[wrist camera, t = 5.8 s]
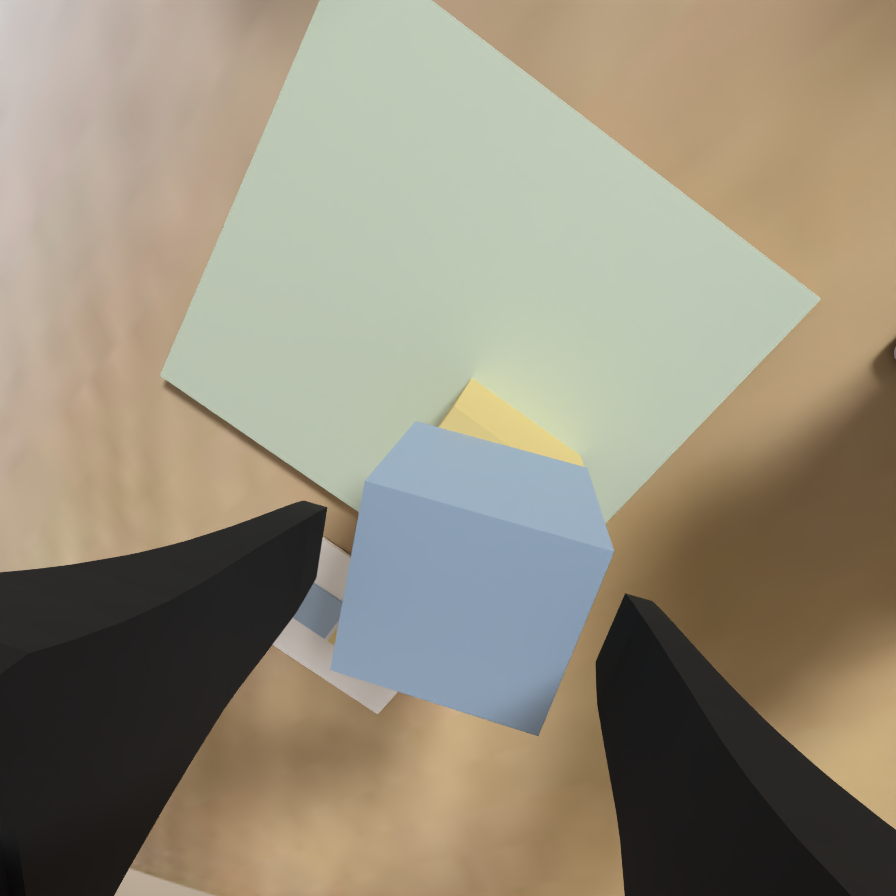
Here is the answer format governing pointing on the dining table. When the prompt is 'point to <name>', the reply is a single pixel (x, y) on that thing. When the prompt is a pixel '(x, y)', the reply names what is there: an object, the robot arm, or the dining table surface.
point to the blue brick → (471, 575)
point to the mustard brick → (502, 424)
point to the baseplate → (463, 266)
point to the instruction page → (327, 630)
